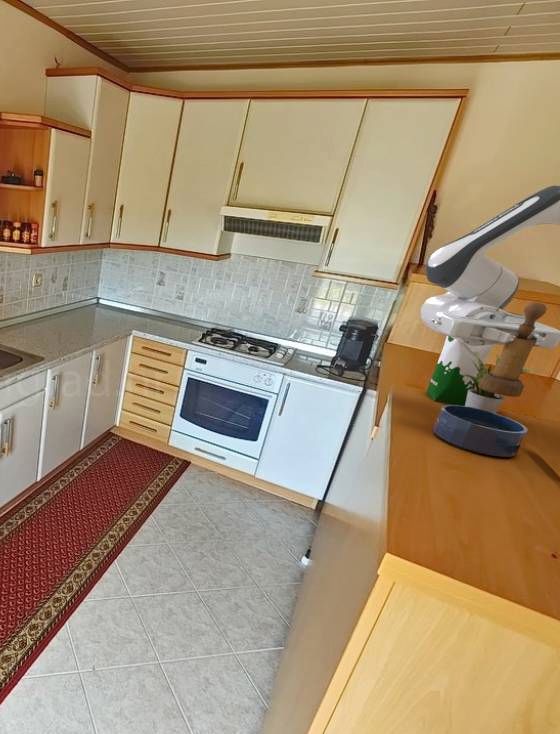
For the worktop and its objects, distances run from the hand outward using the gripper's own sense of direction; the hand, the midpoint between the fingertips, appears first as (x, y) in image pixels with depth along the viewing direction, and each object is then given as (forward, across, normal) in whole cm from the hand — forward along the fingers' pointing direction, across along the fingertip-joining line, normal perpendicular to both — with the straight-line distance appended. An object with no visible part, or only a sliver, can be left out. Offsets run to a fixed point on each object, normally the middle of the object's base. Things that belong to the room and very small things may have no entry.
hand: (525, 340), depth 94 cm
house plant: (-22, +15, +24) cm, 36 cm away
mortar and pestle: (-1, 0, +11) cm, 11 cm away
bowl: (-4, +2, +24) cm, 24 cm away
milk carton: (-35, +14, +24) cm, 45 cm away
